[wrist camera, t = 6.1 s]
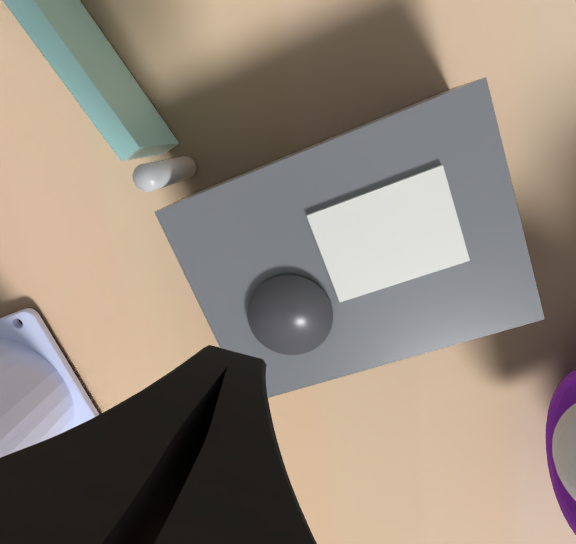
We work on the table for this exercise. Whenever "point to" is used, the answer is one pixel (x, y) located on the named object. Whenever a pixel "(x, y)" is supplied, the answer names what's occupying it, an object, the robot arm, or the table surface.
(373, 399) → the table surface
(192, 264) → the camera case
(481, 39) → the table surface
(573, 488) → the toy camera
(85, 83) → the teal bar
